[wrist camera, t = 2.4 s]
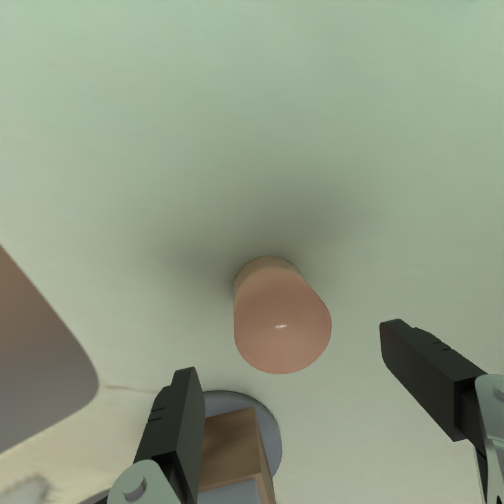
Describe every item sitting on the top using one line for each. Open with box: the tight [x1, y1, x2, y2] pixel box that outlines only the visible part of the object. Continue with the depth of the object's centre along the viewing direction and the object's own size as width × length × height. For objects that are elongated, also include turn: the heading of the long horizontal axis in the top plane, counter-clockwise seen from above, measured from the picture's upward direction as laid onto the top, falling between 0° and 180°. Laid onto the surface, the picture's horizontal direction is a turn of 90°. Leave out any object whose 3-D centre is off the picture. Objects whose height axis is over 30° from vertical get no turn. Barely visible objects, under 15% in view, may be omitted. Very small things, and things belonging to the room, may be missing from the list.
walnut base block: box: [198, 406, 276, 504], centre depth 19 cm, size 8×8×5 cm
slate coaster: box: [203, 391, 282, 478], centre depth 22 cm, size 11×11×1 cm
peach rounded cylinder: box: [233, 256, 332, 374], centre depth 17 cm, size 5×5×6 cm
